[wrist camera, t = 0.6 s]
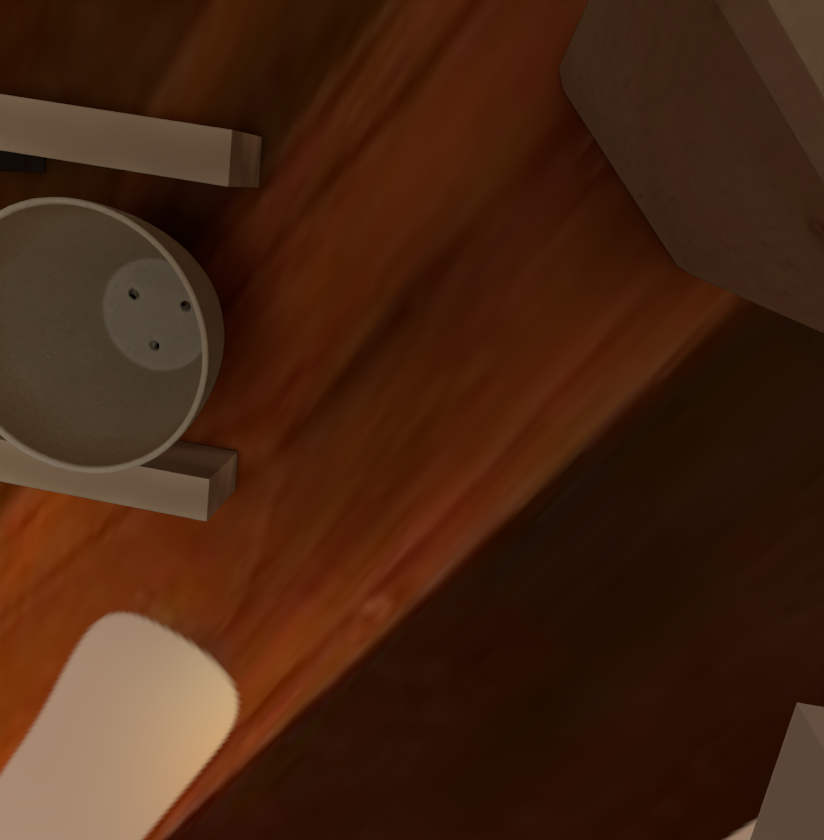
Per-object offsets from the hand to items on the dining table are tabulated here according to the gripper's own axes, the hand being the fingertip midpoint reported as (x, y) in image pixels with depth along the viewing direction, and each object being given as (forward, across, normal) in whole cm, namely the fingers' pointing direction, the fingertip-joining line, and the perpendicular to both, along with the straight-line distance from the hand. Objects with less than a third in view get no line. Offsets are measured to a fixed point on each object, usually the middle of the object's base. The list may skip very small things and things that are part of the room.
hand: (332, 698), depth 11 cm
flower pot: (+22, -13, +1) cm, 26 cm away
